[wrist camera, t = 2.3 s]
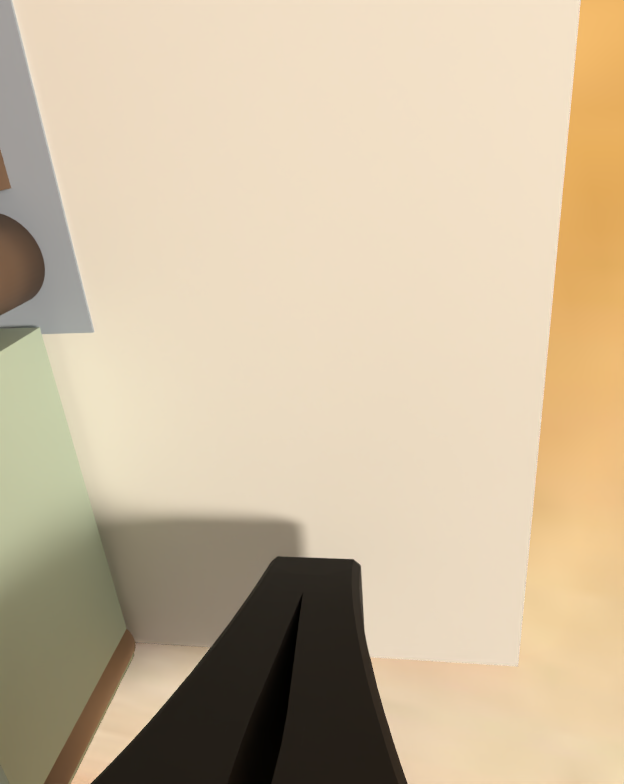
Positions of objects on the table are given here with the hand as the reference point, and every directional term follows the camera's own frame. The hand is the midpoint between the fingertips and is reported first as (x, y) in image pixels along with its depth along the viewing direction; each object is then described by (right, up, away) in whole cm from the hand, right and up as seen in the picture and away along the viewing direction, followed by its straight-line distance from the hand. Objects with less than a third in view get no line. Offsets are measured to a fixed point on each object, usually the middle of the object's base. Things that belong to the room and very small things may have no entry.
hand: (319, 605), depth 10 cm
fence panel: (-4, +1, +1) cm, 5 cm away
